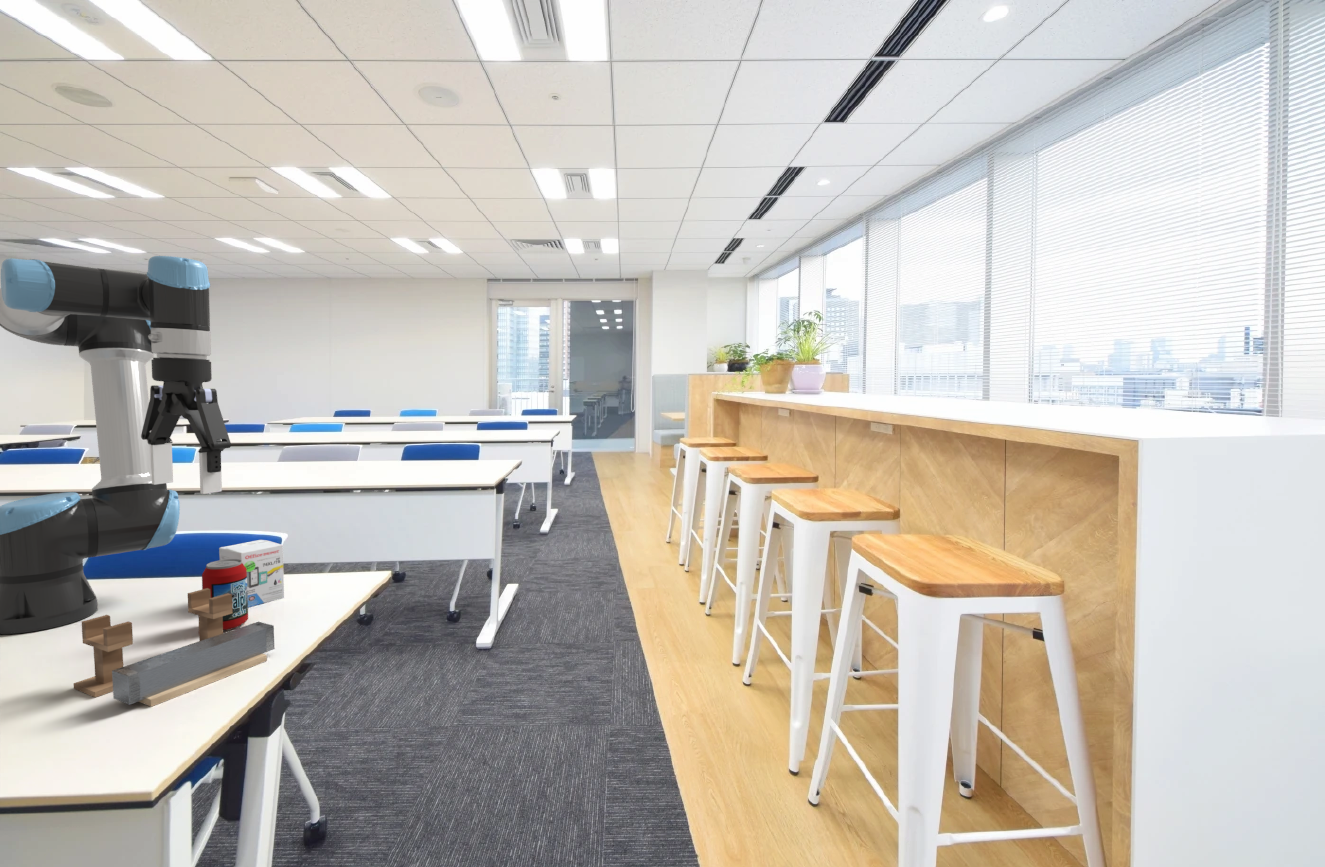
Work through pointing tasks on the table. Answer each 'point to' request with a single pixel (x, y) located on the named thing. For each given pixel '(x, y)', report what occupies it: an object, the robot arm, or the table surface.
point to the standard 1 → (104, 652)
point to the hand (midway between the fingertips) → (186, 488)
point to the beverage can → (229, 588)
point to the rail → (190, 662)
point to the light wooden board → (203, 681)
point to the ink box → (259, 569)
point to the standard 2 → (209, 611)
